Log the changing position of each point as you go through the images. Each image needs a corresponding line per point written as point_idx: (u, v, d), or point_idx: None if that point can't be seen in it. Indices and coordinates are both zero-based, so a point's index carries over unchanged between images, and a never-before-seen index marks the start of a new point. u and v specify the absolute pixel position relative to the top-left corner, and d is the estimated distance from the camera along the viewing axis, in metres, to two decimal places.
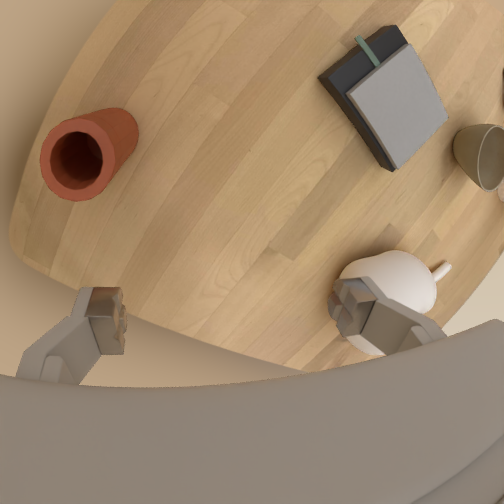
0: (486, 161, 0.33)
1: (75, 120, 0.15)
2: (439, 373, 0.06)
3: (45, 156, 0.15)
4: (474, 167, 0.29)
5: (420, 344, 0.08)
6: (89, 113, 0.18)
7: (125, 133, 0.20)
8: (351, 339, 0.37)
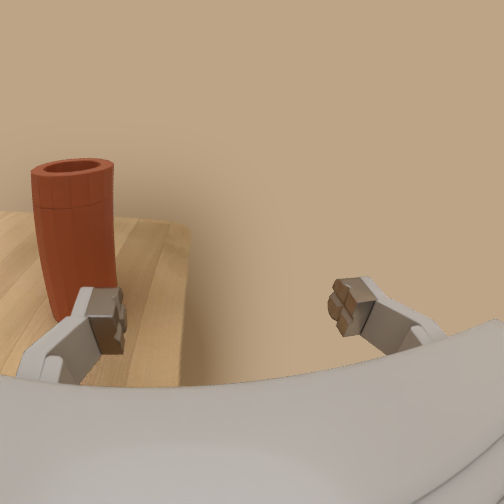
0: None
1: (73, 174, 0.14)
2: (439, 373, 0.06)
3: (106, 163, 0.17)
4: None
5: (420, 344, 0.08)
6: (84, 246, 0.16)
7: (38, 242, 0.15)
8: None
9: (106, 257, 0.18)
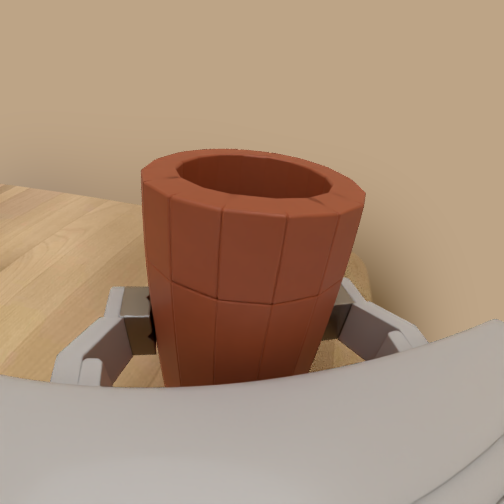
0: None
1: (296, 212, 0.05)
2: (439, 373, 0.06)
3: (341, 179, 0.08)
4: None
5: (397, 351, 0.08)
6: (280, 369, 0.08)
7: (159, 336, 0.08)
8: None
9: None
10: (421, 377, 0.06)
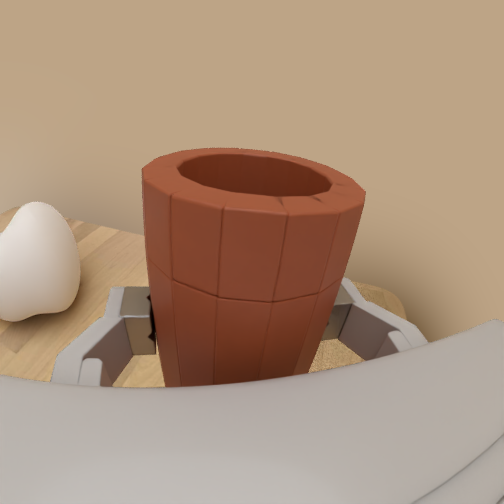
0: None
1: (296, 210, 0.05)
2: (439, 373, 0.06)
3: (341, 178, 0.08)
4: None
5: (397, 351, 0.08)
6: (280, 368, 0.08)
7: (159, 334, 0.08)
8: None
9: None
10: (421, 377, 0.06)
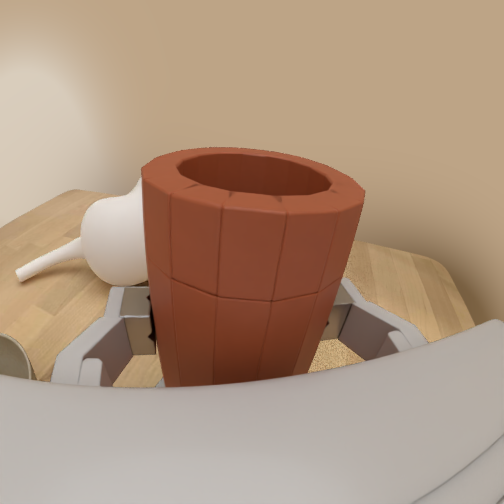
0: None
1: (296, 209, 0.05)
2: (439, 373, 0.06)
3: (341, 177, 0.08)
4: (31, 366, 0.15)
5: (397, 351, 0.08)
6: (280, 367, 0.08)
7: (159, 333, 0.08)
8: None
9: (308, 368, 0.09)
10: (421, 377, 0.06)
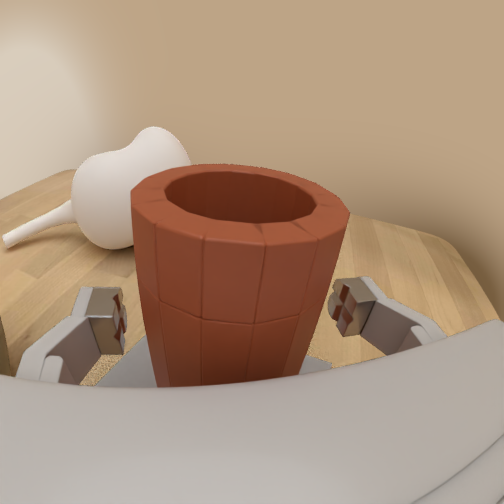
0: None
1: (275, 239, 0.06)
2: (439, 373, 0.06)
3: (327, 197, 0.08)
4: None
5: (420, 344, 0.08)
6: None
7: (150, 347, 0.08)
8: None
9: None
10: (421, 377, 0.06)
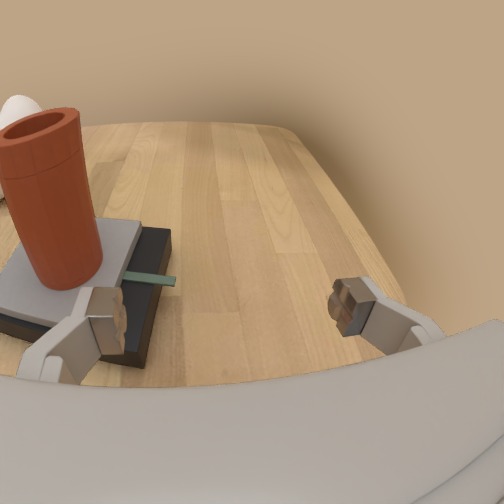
0: None
1: (33, 137, 0.11)
2: (439, 373, 0.06)
3: (70, 114, 0.13)
4: None
5: (420, 344, 0.08)
6: (56, 208, 0.14)
7: (10, 212, 0.13)
8: None
9: (82, 213, 0.16)
10: (421, 377, 0.06)
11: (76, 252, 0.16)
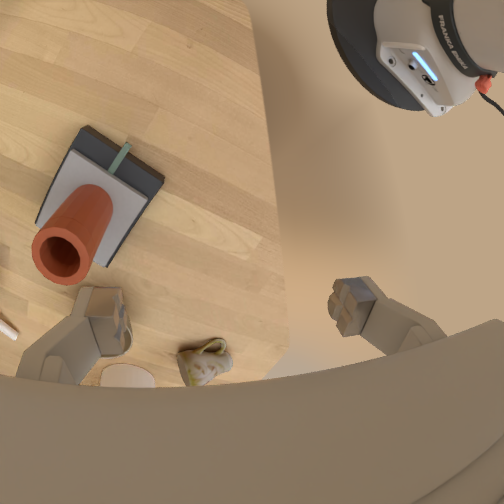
0: None
1: (87, 256, 0.22)
2: (439, 373, 0.06)
3: (57, 232, 0.20)
4: None
5: (420, 344, 0.08)
6: (99, 227, 0.25)
7: None
8: None
9: (93, 207, 0.26)
10: (421, 377, 0.06)
11: (105, 208, 0.28)
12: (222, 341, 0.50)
